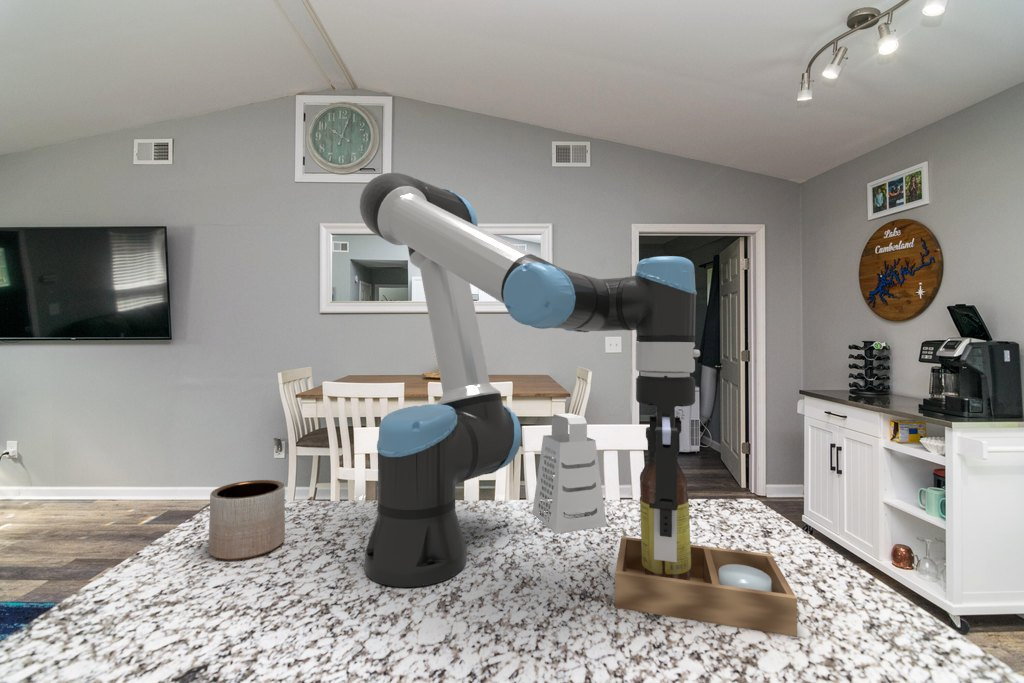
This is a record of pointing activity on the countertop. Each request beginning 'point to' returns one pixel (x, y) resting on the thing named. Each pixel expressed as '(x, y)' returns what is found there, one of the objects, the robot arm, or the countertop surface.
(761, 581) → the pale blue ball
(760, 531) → the countertop surface
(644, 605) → the caddy
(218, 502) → the planter
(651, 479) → the sauce bottle
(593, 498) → the grater
